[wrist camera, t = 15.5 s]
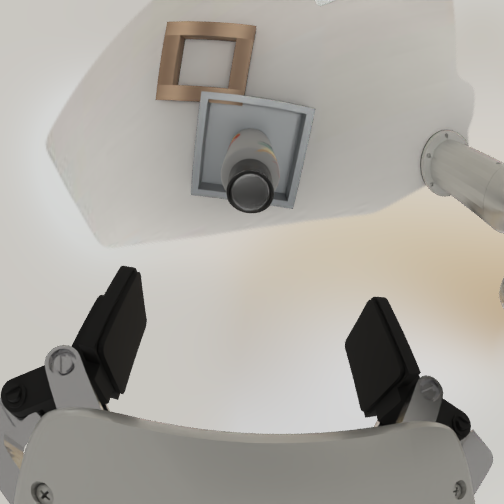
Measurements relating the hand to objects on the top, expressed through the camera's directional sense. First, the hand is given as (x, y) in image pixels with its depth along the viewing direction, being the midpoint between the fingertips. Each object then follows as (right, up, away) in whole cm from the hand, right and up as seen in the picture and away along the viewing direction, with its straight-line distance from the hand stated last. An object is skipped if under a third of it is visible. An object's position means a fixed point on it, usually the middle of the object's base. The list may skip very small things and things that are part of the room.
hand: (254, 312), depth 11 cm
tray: (0, +18, +28) cm, 33 cm away
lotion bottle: (0, +18, +27) cm, 33 cm away
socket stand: (-6, +29, +21) cm, 36 cm away
